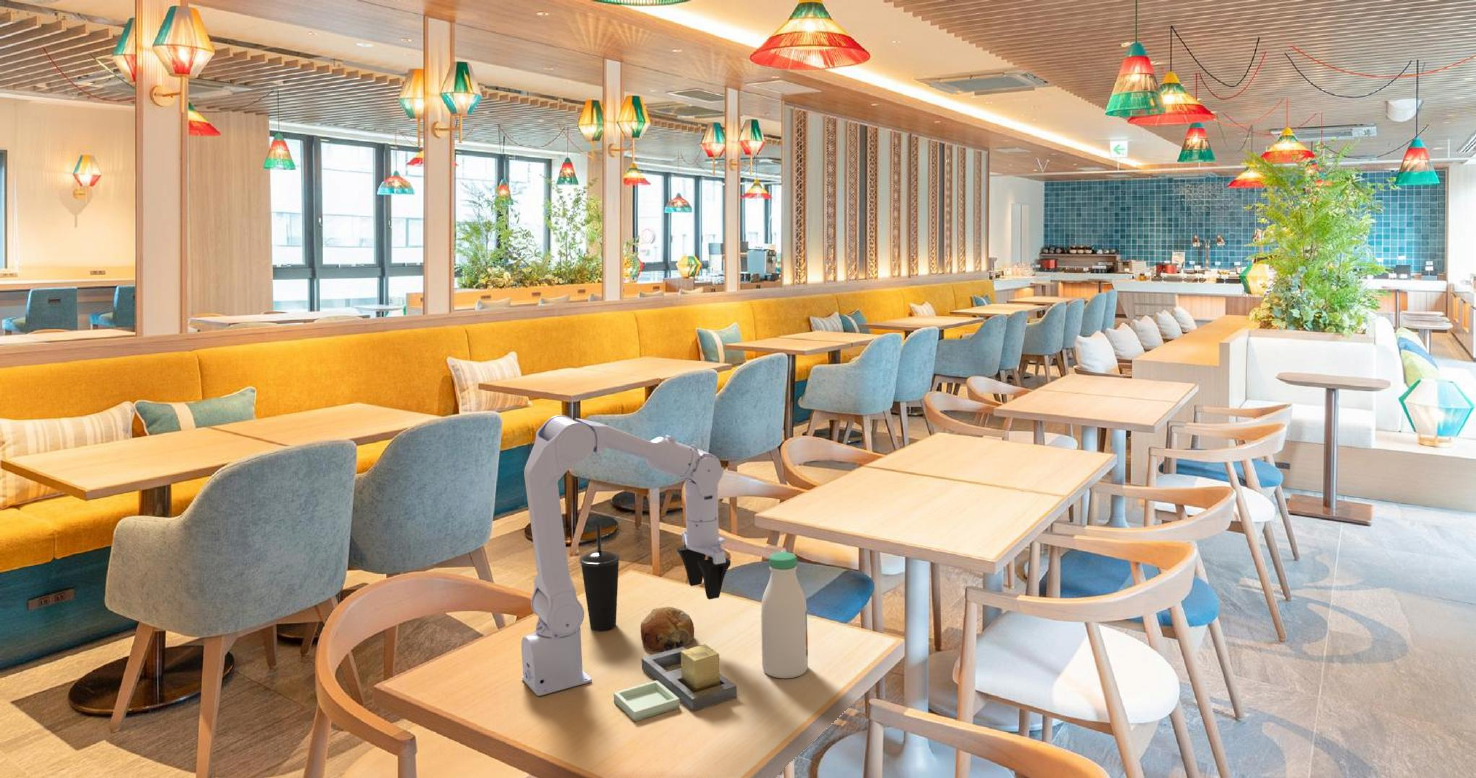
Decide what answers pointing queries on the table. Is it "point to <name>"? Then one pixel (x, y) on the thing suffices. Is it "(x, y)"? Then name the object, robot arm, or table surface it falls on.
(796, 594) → the milk bottle
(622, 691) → the tray
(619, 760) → the table surface
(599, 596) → the drinking cup
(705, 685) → the wood grain cuboid
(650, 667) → the grey flat frame
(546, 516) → the robot arm
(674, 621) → the bread roll
